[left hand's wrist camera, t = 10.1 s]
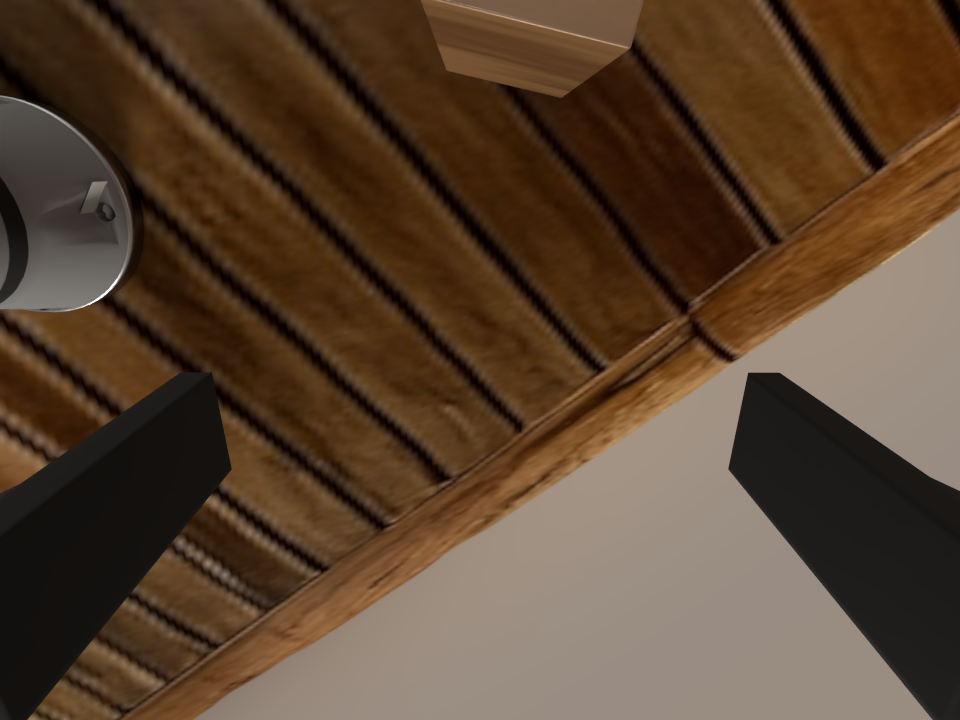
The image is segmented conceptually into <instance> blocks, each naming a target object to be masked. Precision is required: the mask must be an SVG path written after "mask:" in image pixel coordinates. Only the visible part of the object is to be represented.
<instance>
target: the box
mask: <svg viewBox="0 0 960 720" xmlns="http://www.w3.org/2000/svg"><path fill="white" fill-rule="evenodd" d="M643 2H644V0H421V3H422V5H423V8H424V11H425V13H426V16H427V19H428V22H429V24H430V27H431V30H432V32H433V35H434V38H435V40H436V43H437V46H438V49H439V51H440V54H441V57H442V59H443V62H444V65H445V67H446V70H447V71H451V72H455V73H459V74H463V75H468V76H472V77H476V78H480V79H484V80H488V81H493V82H497V83H501V84H505V85H509V86H513V87H518V88H522V89H526V90H530V91H534V92H539V93H543V94H547V95H551V96H555V97H559V98H562V97H563V96H565V95H566V94H567V93H569V92H570V91H571V90H573V89H574V88H576V87H577V86H578V85H580V84H581V83H583V82H584V81H585V80H587V79H588V78H590V77H591V76H592V75H594V74H595V73H597V72H598V71H599V70H601V69H602V68H604V67H605V66H606V65H608V64H609V63H611V62H612V61H613V60H615V59H616V58H618V57H619V56H620V55H622V54H623V53H625V52H626V51H627V50H629V49H630V47H631V45H632V41H633V38H634V34H635V31H636V27H637V23H638V20H639V16H640V13H641V9H642V5H643Z"/></svg>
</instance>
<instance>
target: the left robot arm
mask: <svg viewBox="0 0 960 720" xmlns="http://www.w3.org/2000/svg"><path fill="white" fill-rule="evenodd" d="M142 246H143V219H142V213H141V208H140V205H139V201H138V198H137V195H136V193H135V190H134V188H133V186H132V183H131V181H130V179H129V177H128V176H127V174H126V172H125V170H124V169H123V167H122V166H121V164H120V163H119V161H118V160H117V158H116V157H115V156H114V155H113V153H112V152H111V151H110V149H109V148H108V147H107V146H106V145H105V144H104V143H103V142H102V141H101V140H100V139H99V138H98V137H97V136H96V135H95V134H94V133H93V132H91V131H90V130H89V129H88V128H86V127H85V126H84V125H83V124H81V123H80V122H78V121H77V120H75V119H74V118H72V117H70V116H69V115H67V114H65V113H63V112H62V111H59V110H57V109H55V108H53V107H51V106H48V105H45V104H42V103H39V102H35V101H32V100H27V99H21V98H14V97H7V96H0V309H24V310H31V311H44V312H63V311H70V310H74V309H78V308H82V307H84V306H87V305H90V304H93V303H96V302H98V301H101V300H103V299H105V298H107V297H109V296H111V295H112V294H114V293H115V292H117V291H118V290H119V289H120V288H121V287H123V286H124V285H125V283H126V282H127V281H128V280H129V279H130V277H131V276H132V274H133V273H134V271H135V269H136V267H137V264H138V262H139V259H140V256H141V251H142ZM230 471H231V464H230V459H229V454H228V449H227V444H226V439H225V435H224V430H223V425H222V420H221V415H220V410H219V405H218V401H217V396H216V391H215V386H214V381H213V376H212V373H179V374H178V375H177V376H175V377H174V378H172V379H171V380H169V381H168V382H166V383H165V384H164V385H162V386H161V387H159V388H158V389H156V390H155V391H153V392H152V393H151V394H149V395H148V396H146V397H145V398H143V399H142V400H141V401H139V402H138V403H136V404H135V405H133V406H132V407H130V408H129V409H128V410H126V411H125V412H123V413H122V414H120V415H119V416H117V417H116V418H115V419H113V420H112V421H110V422H109V423H107V424H106V425H105V426H103V427H102V428H100V429H99V430H97V431H96V432H94V433H93V434H92V435H90V436H89V437H87V438H86V439H84V440H83V441H81V442H80V443H79V444H77V445H76V446H74V447H73V448H71V449H70V450H69V451H67V452H66V453H64V454H63V455H61V456H60V457H58V458H57V459H56V460H54V461H53V462H51V463H50V464H48V465H47V466H45V467H44V468H43V469H41V470H40V471H38V472H37V473H35V474H34V475H33V476H31V477H30V478H28V479H27V480H25V481H24V482H22V483H21V484H19V485H17V486H15V487H13V488H11V489H9V490H6V491H4V492H2V493H0V720H27V719H28V718H29V717H30V716H31V714H32V713H33V712H34V711H35V710H36V708H37V707H38V706H39V705H40V703H41V702H42V701H43V700H44V699H45V697H46V696H47V695H48V694H49V692H50V691H51V690H52V689H53V688H54V686H55V685H56V684H57V683H58V681H59V680H60V679H61V678H62V676H63V675H64V674H65V673H66V672H67V670H68V669H69V668H70V667H71V665H72V664H73V663H74V662H75V661H76V659H77V658H78V657H79V656H80V654H81V653H82V652H83V651H84V650H85V648H86V647H87V646H88V645H89V643H90V642H91V641H92V640H93V638H94V637H95V636H96V635H97V634H98V632H99V631H100V630H101V629H102V627H103V626H104V625H105V624H106V623H107V621H108V620H109V619H110V618H111V616H112V615H113V614H114V613H115V612H116V610H117V609H118V608H119V607H120V605H121V604H122V603H123V602H124V600H125V599H126V598H127V597H128V596H129V594H130V593H131V592H132V591H133V589H134V588H135V587H136V586H137V585H138V583H139V582H140V581H141V580H142V578H143V577H144V576H145V575H146V574H147V572H148V571H149V570H150V569H151V567H152V566H153V565H154V564H155V562H156V561H157V560H158V559H159V558H160V556H161V555H162V554H163V553H164V551H165V550H166V549H167V548H168V547H169V545H170V544H171V543H172V542H173V540H174V539H175V538H176V537H177V536H178V534H179V533H180V532H181V531H182V529H183V528H184V527H185V526H186V524H187V523H188V522H189V521H190V520H191V518H192V517H193V516H194V515H195V513H196V512H197V511H198V510H199V509H200V507H201V506H202V505H203V504H204V502H205V501H206V500H207V499H208V498H209V496H210V495H211V494H212V493H213V491H214V490H215V489H216V488H217V487H218V485H219V484H220V483H221V482H222V480H223V479H224V478H225V477H226V475H227V474H228V473H229V472H230ZM729 471H730V472H731V473H732V474H733V475H734V477H735V478H736V479H737V480H738V482H739V483H740V484H741V485H742V486H743V488H744V489H745V490H746V491H747V493H748V494H749V495H750V496H751V498H752V499H753V500H754V501H755V502H756V504H757V505H758V506H759V507H760V509H761V510H762V511H763V512H764V513H765V515H766V516H767V517H768V518H769V520H770V521H771V522H772V523H773V525H774V526H775V527H776V528H777V529H778V531H779V532H780V533H781V534H782V536H783V537H784V538H785V539H786V540H787V542H788V543H789V544H790V545H791V546H792V548H793V549H794V550H795V551H796V553H797V554H798V555H799V556H800V558H801V559H802V560H803V561H804V562H805V564H806V565H807V566H808V567H809V569H810V570H811V571H812V572H813V573H814V575H815V576H816V577H817V578H818V580H819V581H820V582H821V583H822V585H823V586H824V587H825V588H826V589H827V591H828V592H829V593H830V594H831V596H832V597H833V598H834V599H835V600H836V602H837V603H838V604H839V605H840V607H841V608H842V609H843V610H844V612H845V613H846V614H847V615H848V616H849V618H850V619H851V620H852V621H853V623H854V624H855V625H856V626H857V627H858V629H859V630H860V631H861V632H862V634H863V635H864V636H865V637H866V638H867V640H868V641H869V642H870V643H871V645H872V646H873V647H874V648H875V650H876V651H877V652H878V653H879V654H880V656H881V657H882V658H883V659H884V661H885V662H886V663H887V664H888V665H889V667H890V668H891V669H892V670H893V672H894V673H895V674H896V675H897V676H898V678H899V679H900V680H901V681H902V683H903V684H904V685H905V686H906V688H907V689H908V690H909V691H910V692H911V694H912V695H913V696H914V697H915V699H916V700H917V701H918V702H919V703H920V705H921V706H922V707H923V708H924V710H925V711H926V712H927V713H928V714H929V716H930V717H931V718H932V719H933V720H960V491H958V490H956V489H954V488H952V487H950V486H948V485H946V484H943V483H941V482H939V481H937V480H935V479H933V478H931V477H929V476H927V475H926V474H925V473H923V472H922V471H920V470H919V469H917V468H916V467H915V466H913V465H912V464H910V463H909V462H907V461H906V460H904V459H903V458H902V457H900V456H899V455H897V454H896V453H894V452H893V451H891V450H890V449H889V448H887V447H886V446H884V445H883V444H881V443H880V442H878V441H877V440H876V439H874V438H873V437H871V436H870V435H868V434H867V433H866V432H864V431H863V430H861V429H860V428H858V427H857V426H855V425H854V424H853V423H851V422H850V421H848V420H847V419H845V418H844V417H843V416H841V415H840V414H838V413H837V412H835V411H834V410H832V409H831V408H830V407H828V406H827V405H825V404H824V403H822V402H821V401H819V400H818V399H817V398H815V397H814V396H812V395H811V394H809V393H808V392H807V391H805V390H804V389H802V388H801V387H799V386H798V385H796V384H795V383H794V382H792V381H791V380H789V379H788V378H786V377H785V376H783V375H782V374H781V373H748V376H747V381H746V386H745V391H744V396H743V401H742V405H741V410H740V415H739V420H738V425H737V430H736V435H735V439H734V444H733V449H732V454H731V459H730V464H729Z"/></svg>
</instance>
